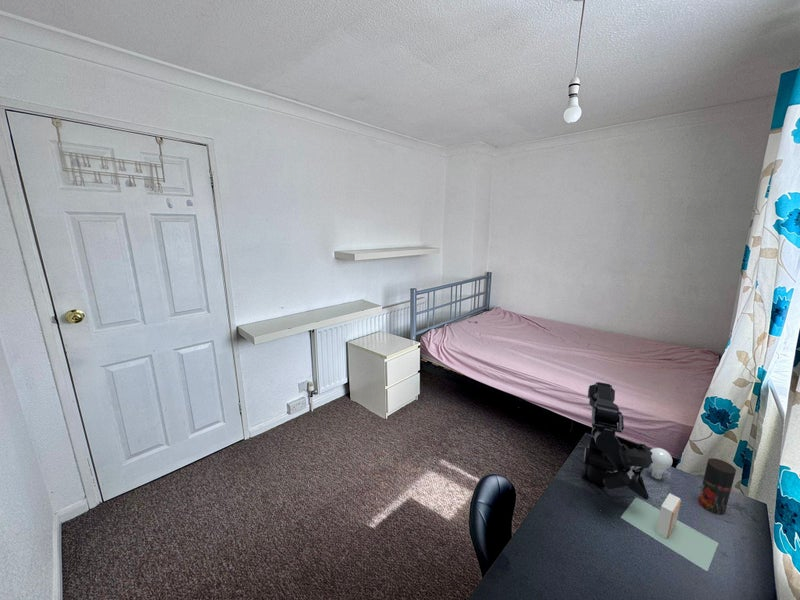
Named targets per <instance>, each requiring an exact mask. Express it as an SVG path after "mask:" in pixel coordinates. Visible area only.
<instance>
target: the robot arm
mask: <svg viewBox="0 0 800 600" xmlns="http://www.w3.org/2000/svg"><path fill="white" fill-rule="evenodd" d="M615 396H616V390H615V389H614V388H613V385H612V384H610V383H605V382H600V381H597V382H595V384H591V385H589V386H588V390H587V398H588V400H589V401H588V402H589V403H588V404H589V406H590V407H591V408H592V410H591V426H592V427H591V429H592V430H591V436H590V438H589V440H588V443H587V444H588V445H587V446H586V447H585V448H584V452H583V453H584V454H583V464H584V466H585V467H584V474H583V475H582V476H581V479H582V480H584V481H586V482H588V483H589V484H592V485H593V486H595V487H596V488H599V489H601V490H603V489H604V488H605V487H606V489H607V490H613V489H620V488H625V487H627V488H628V489H629V490H631V491H632V492H633V493H635V494H637V495H638V496H639V497H641V498H642V500H649V499H650V497H649V494H648V493H649V492H648V491H647V487H646V485H645V483H644V479H643V477H642V476H643V471H644V470H645V469H649V468H650V466H652V464H651V463H653V461H652V458H651V455H652V452H650V450H651V449H649V447H648V446H647V445H646V444H645V443H638V445H637V446H636V447H633V448H629V447H628V445H627V444H625V443H621V442H620V440H619V439H618V437H616V432H617V433H621V434H622V431H624V427H625V426H624V416H623V413H622V412H621V411H620V409H619V406H618V404H617V403H614V402H615V399H616V397H615Z"/></svg>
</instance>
